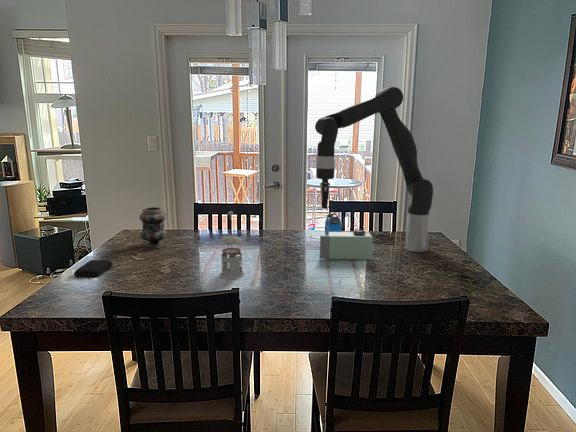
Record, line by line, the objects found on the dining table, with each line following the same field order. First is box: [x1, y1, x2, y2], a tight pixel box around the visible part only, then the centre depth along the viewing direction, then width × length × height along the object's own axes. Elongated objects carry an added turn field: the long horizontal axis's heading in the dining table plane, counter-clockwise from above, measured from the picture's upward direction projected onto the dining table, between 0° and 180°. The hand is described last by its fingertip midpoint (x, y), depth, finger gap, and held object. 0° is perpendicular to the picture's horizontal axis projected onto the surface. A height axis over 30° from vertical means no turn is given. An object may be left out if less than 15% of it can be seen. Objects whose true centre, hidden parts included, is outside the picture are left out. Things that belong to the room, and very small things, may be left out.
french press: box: [219, 210, 246, 280], centre depth 162 cm, size 10×12×25 cm
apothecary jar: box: [139, 206, 168, 250], centre depth 198 cm, size 12×12×18 cm
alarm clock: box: [324, 211, 343, 236], centre depth 202 cm, size 13×6×15 cm, turn 5°
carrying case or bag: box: [73, 259, 114, 279], centre depth 166 cm, size 11×3×15 cm
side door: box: [319, 235, 374, 261], centre depth 181 cm, size 22×1×10 cm, turn 88°
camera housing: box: [329, 229, 372, 261], centre depth 185 cm, size 18×8×12 cm, turn 88°
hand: (324, 207), depth 180 cm, fingers open, 3 cm apart
